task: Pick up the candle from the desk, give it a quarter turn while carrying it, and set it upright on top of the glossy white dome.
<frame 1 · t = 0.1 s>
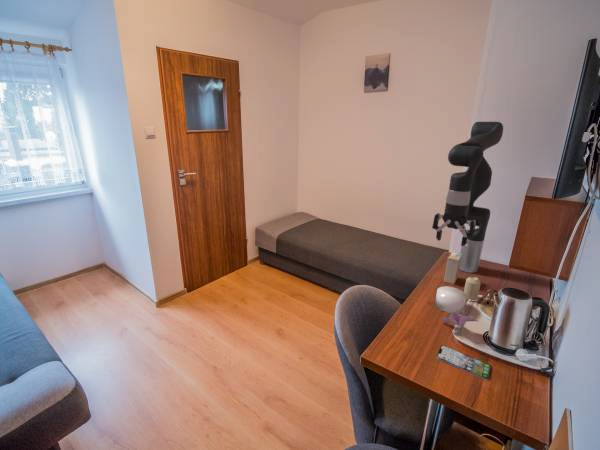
hand: (450, 242, 116), 29 cm above the table, tool pointing down, fingers open, 8 cm apart
supplement box: (450, 280, 146), on the table
lily: (456, 331, 112), on the table
candle: (469, 298, 132), on the table
smartphone: (463, 363, 97), on the table
glossy white dome: (449, 305, 126), on the table
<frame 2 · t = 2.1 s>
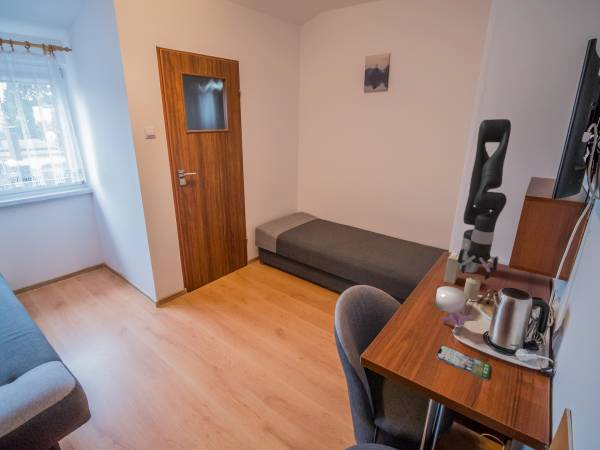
hand: (474, 275, 128), 11 cm above the table, tool pointing down, fingers open, 8 cm apart
nothing on the table moved.
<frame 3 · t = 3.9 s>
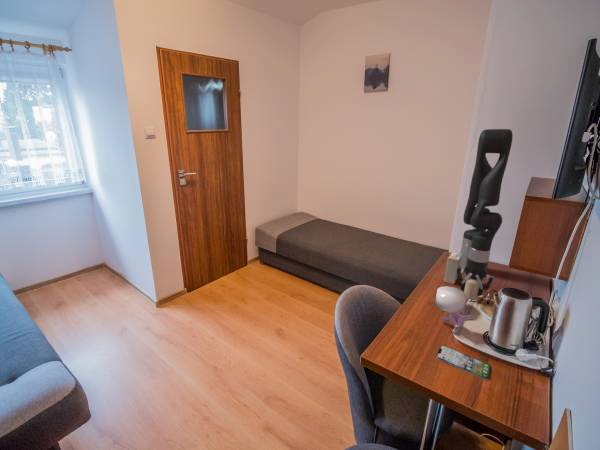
hand: (470, 292, 131), 3 cm above the table, tool pointing down, fingers closed on candle, 5 cm apart
candle: (469, 298, 132), on the table, touching gripper
everything else where it was.
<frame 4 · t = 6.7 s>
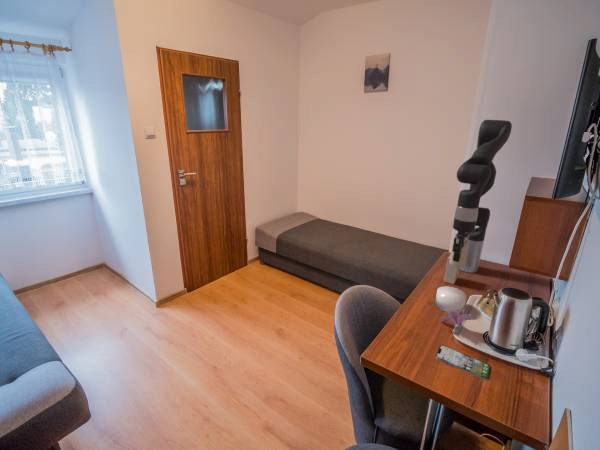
hand: (458, 258, 119), 22 cm above the table, tool pointing down, fingers closed on candle, 5 cm apart
candle: (456, 264, 120), point 19 cm above the table, touching gripper
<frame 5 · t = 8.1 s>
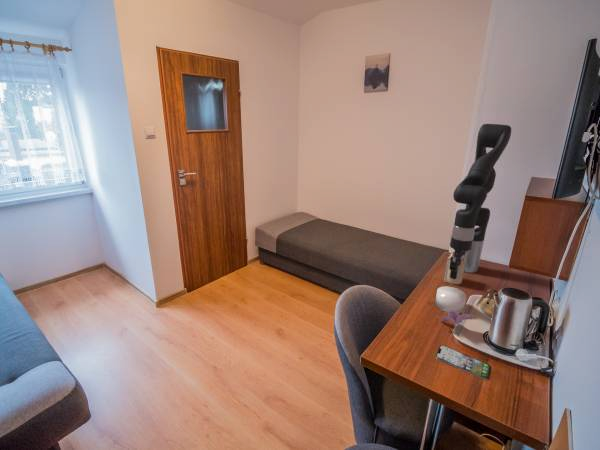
hand: (455, 275, 122), 14 cm above the table, tool pointing down, fingers closed on candle, 5 cm apart
candle: (453, 281, 123), point 12 cm above the table, touching gripper
when the fingers open (10 cm above the table, at t = 9.4 s): candle drops 1 cm, resting on glossy white dome.
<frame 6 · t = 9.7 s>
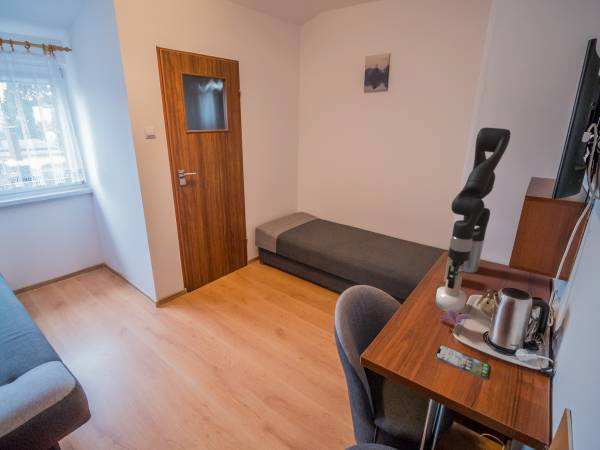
hand: (453, 283, 123), 10 cm above the table, tool pointing down, fingers open, 7 cm apart
candle: (451, 293, 125), point 6 cm above the table, touching glossy white dome
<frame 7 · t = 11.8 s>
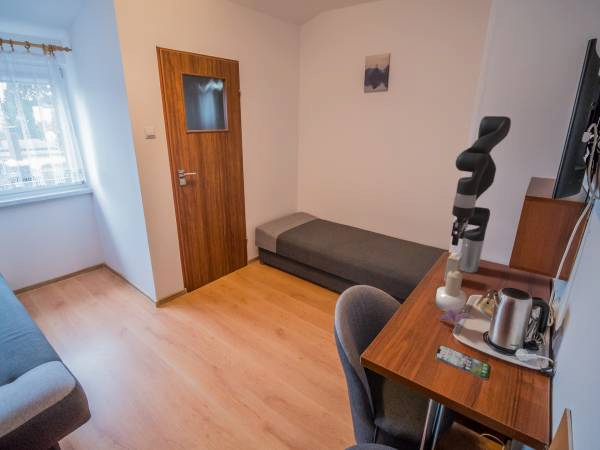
hand: (457, 241, 125), 26 cm above the table, tool pointing down, fingers open, 8 cm apart
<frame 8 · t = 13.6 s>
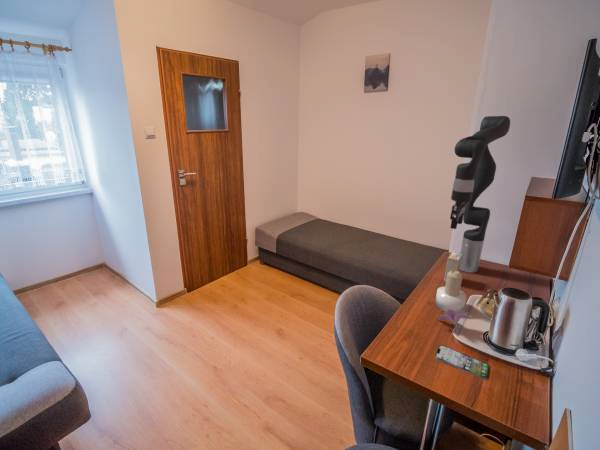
hand: (456, 226, 131), 30 cm above the table, tool pointing down, fingers open, 8 cm apart
at the end: candle 0.1 cm off-centre on the glossy white dome, point 5.8 cm above the glossy white dome's base; candle tilted 0°; the gripper is holding nothing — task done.
